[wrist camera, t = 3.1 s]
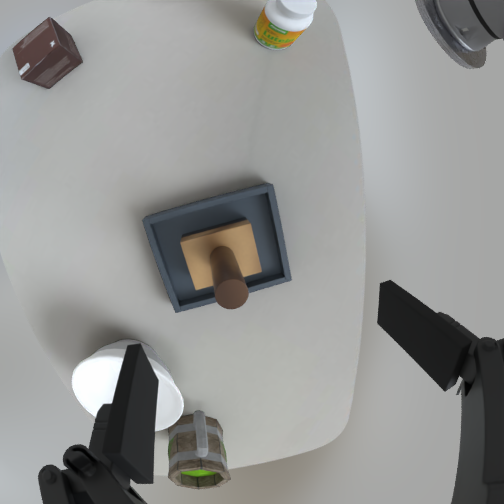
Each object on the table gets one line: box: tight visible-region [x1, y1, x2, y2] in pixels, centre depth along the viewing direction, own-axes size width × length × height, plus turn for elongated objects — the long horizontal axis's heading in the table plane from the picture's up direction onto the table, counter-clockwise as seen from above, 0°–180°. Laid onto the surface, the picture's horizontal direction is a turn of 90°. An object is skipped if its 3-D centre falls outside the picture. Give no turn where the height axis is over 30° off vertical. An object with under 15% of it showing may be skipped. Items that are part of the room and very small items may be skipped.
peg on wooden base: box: [180, 217, 262, 309], centre depth 29 cm, size 8×6×12 cm
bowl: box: [71, 339, 184, 431], centre depth 34 cm, size 16×16×9 cm
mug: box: [168, 411, 231, 489], centre depth 39 cm, size 16×11×12 cm
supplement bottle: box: [254, 0, 317, 50], centre depth 23 cm, size 5×5×10 cm
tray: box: [142, 183, 292, 313], centre depth 34 cm, size 16×13×2 cm
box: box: [13, 17, 83, 89], centre depth 19 cm, size 6×6×7 cm
